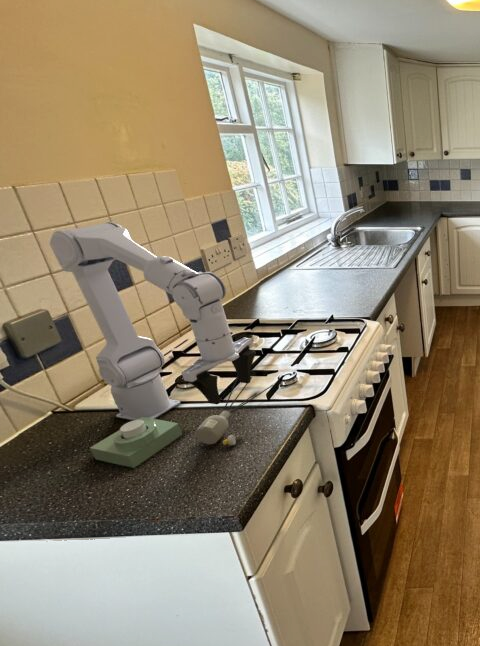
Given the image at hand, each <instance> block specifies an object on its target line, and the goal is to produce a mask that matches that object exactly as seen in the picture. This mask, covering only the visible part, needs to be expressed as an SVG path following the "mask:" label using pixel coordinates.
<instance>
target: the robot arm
mask: <svg viewBox="0 0 480 646" xmlns="http://www.w3.org/2000/svg"><path fill="white" fill-rule="evenodd" d="M49 246H50V248H51V250H52V252H53V254H54V257H55V258H56V261H57V262H58V264H59V266H60V267H61V269H62V271H63V272H65V273H66V272H67V273H72V275H73V277H74V279H75V281H76V283H77V286H78V287H79V289H80V291H81V294H82V295H83V297H84V300H85V301H86V303H87V305H88V308H89V310H90V311H91V314H92V316H93V317H94V319H95V321H96V324H97V326H98V327H99V330H100V331H101V333H102V335H103V338H104V339H105V341H106V345H105V346H103V348H102V349H101V350H100V351H99V353H98V354H97V355H96V357H95V360H96V362H97V365H98V373H99V375H100V377H101V378H102V380H103V381H104V382H105V383H106V384H108V385H109V386H110V393H111V396H112V398H113V401H114V402H115V405H116V407H117V409H118V411H119V413H117V414H116V415H115V416H116V418H120V419H124V420H129V421H134V420H137V419H139V418H141V417H147V418H152V419H157V418H158V417H160V416H162V415H164V414H165V413H167V412H168V411H170V410H171V409H173V408H175V407H177V406H178V405H180V404H181V401H180V400H177V399H172V398H170V397H169V395H168V392H167V390H166V387H165V385H164V384H165V383H164V382H163V379H162V377H161V374H160V373H162V372H163V369H162V367H164V366H165V360H166V359H165V355H164V353H163V351H162V350H161V349H160V348H159V347H158V345H157V344H156V343H155V341H154V339H152V338H149V337H146V336H139V335H138V333H137V331H136V329H135V326H134V324H133V322H132V320H131V317H130V316H129V313H128V311H127V309H126V307H125V305H124V303H123V300H122V298H121V296H120V294H119V292H118V289H117V288H116V285H115V283H114V280H113V279H112V277H111V274H110V272H109V268H110V266H111V265H112V263H113V261H115V260H117V261H118V262H122V264H126V265H128V266H130V267H132V268H134V269H137V270H138V271H141V272H143V277H144V279H145V281H147V282H148V283H150V284H152V285H154V286H155V287H157V288H159V289H161V290H162V291H164V292H166V293H168V294H169V295H171V296H172V300H173V301H174V302H175V304H176V305H177V306H178V307H179V308H180V309H181V311H182V315H183V316H184V317H185V319H188V321H189V323H190V327H191V330H192V332H193V336H194V339H195V342H196V345H197V348H198V351H199V354H200V357H198V359H197V360H195V361H194V362H193V363H192V364H191V365H189V367H187V368H186V369H184V370H182V371H180V373H181V375H182V378H183V381H184V382H187V383H189V384H190V385H192V386H193V387H195V388H196V389H197V391H199V392H200V393H201V394H202V395H203V396H204V398H205V399H206V400H207V401H208V403H209V404H212V405H219V404H221V396H220V392H219V389H218V378H219V376H218V375H214V374H211V372H209V371H211V370H212V369H214V368H216V367H217V366H219V365H222V364H224V363H227V362H231V364H232V366H233V367H234V370H235V372H236V377H237V376H238V380H239V382H240V383H242V384H243V383H244V384H246V383H248V384H250V383H251V380H252V379H251V377H252V367H253V362H254V359H255V358H256V355H257V354H256V350H255V349H251V348H253V347H254V341H253V339H252V338H250V337H242V338H240V339H238V340H236V341H234V340H233V336H232V333H231V329H230V326H229V323H228V319H227V316H226V312H225V310H224V305H223V303H222V300H223V299H224V298H225V297H226V295H227V289H226V286H225V284H224V282H223V281H222V279H221V278H220V277H219V276H218V275H216V274H215V273H213V272H212V271H205V272H202V271H198V272H197V271H195V270H193V269H192V268H190V267H188V266H186V265H184V264H182V263H180V262H179V261H177V260H175V259H174V258H172V257H171V256H169V255H166V256H164V255H162V256H157V255H154V254H153V253H152V252H150V251H148V250H147V249H146V248H145V247H142V246H141V245H140V244H138V243H137V242H135V241H134V240H132V237H131V235H130V233H129V231H128V230H127V228H125V227H123V226H122V225H120V224H118V223H117V222H115V221H107V222H104V223H101V224H93V225H88V226H83V227H77V228H70V229H65V230H62V229H61V230H60V229H59V230H55V231H54V232H53V233H52V235H51V237H50V240H49Z"/></svg>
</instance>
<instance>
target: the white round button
mask: <svg viewBox="0 0 480 646" xmlns="http://www.w3.org/2000/svg"><path fill="white" fill-rule="evenodd" d="M119 430H120V431H121V433H122V435H123V438H124V439H131V438H134V437H137V436H140V435H141V434H143V433H145V432H146V431H147V428H146V426H145V424H144V421H143V420H130V421H128V422H126V423H124V424H123V425H121V427H120V428H119Z"/></svg>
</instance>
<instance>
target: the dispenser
mask: <svg viewBox="0 0 480 646" xmlns="http://www.w3.org/2000/svg"><path fill="white" fill-rule="evenodd" d="M137 420H143V421H144V424H145V426H146V428H147V431H146V432H145V433H143V434H141V435H140V436H137V437H134V438H131V439H124V438H123V435H122V433H121V431H120V429H118V430H117V431H116V432H114V433H112V434H111V435H109V436H108V437H105V438H104V439H102V440H100V441H99V442H97V443H95V444H93V445H92V446H90V447H89V449H90V451H91V453H92V455H93V457H94V460H95V461H96V460H97V461H101V462H106V463H110V464H113V465H119V466H122V467H123V466H124V467H128V468H133V469H135V468H137V466H139V465H140V464H142V463H143V462H145V461H146V460H148V459H149V458H151V457H152V456H153V455H155V454H157V453H158V452H159V451H161V450H162V449H163V448H165V447H166V446H169V445H170V444H171V443H172V442H174V441H175V440H177V439H179V437H181V436H182V435H183V432H182V429H181V426H180V424H179V423H178V422H173V421H167V420H163V419H157V418H155V419H152V418H147V417H141V418H139V419H137Z"/></svg>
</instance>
